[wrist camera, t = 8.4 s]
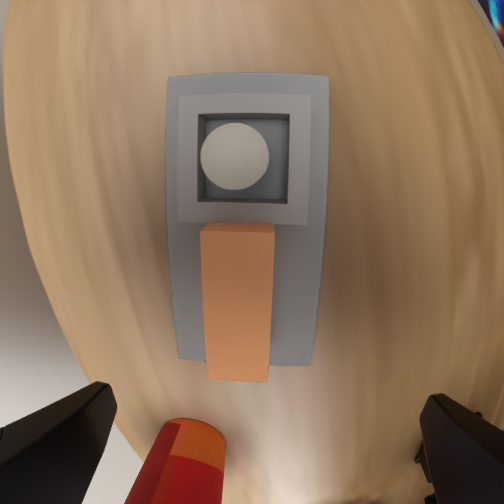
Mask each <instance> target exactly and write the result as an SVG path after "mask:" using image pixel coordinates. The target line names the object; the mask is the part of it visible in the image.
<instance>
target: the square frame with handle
mask: <svg viewBox="0 0 504 504" xmlns="http://www.w3.org/2000/svg"><path fill="white" fill-rule="evenodd" d="M211 119H278V120H288V133H287V176H286V200H282V199H249V198H206V174H205V173H204V170H203V168H202V165H201V157H200V156H201V149H202V146H203V143H204V141H205V139H206V120H211ZM310 140H311V95H295V94H269V93H232V94H205V95H190V96H179V112H178V222H209V223H208V224H207V225H206V226H205V227H204V228H203V229H202V230H201V231H200V244H201V275H202V298H203V317H204V334H205V349H206V363H207V375H208V378H209V379H220V380H233V381H249V382H268V366H269V349H270V331H271V312H272V291H273V268H274V244H275V225H274V224H284V225H307V221H308V201H309V177H310Z"/></svg>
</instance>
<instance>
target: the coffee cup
mask: <svg viewBox="0 0 504 504" xmlns="http://www.w3.org/2000/svg"><path fill="white" fill-rule="evenodd" d="M225 450H226V444H225V439H224V437H223V436H222V434H221V433H220V432H219V431H218V430H216V429H215V428H213V427H212V426H210V425H208V424H206V423H203V422H200V421H197V420H193V419H184V418H181V419H174V420H170V421H168V422H167V423H165V424H164V426H163V427H162V429H161V431H160V432H159V434H158V436H157V438H156V440H155V442H154V444H153V446H152V448H151V450H150V452H149V454H148V456H147V458H146V460H145V462H144V464H143V466H142V468H141V470H140V472H139V474H138V476H137V478H136V480H135V482H134V484H133V486H132V488H131V491H130V493H129V495H128V497H127V499H126V501H125V503H124V504H221V502H222V490H223V478H224V466H225Z"/></svg>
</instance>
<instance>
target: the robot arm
mask: <svg viewBox="0 0 504 504" xmlns="http://www.w3.org/2000/svg"><path fill="white" fill-rule="evenodd" d="M116 412H117V403H116V400H115V397H114V394H113V391H112V388H111V386H110V385H109V384H108V383H104V382H100V381H96V382H94V383H92V384H90V385H88V386H86V387H84V388H82V389H80V390H78V391H76V392H74V393H72V394H71V395H69V396H66V397H64V398H63V399H60V400H59V401H56V402H54V403H52V404H50V405H48V406H46V407H44V408H42V409H40V410H38V411H36V412H34V413H32V414H30V415H27V416H25V417H23V418H21V419H19V420H17V421H15V422H13V423H11V424H8V425H6V426H5V427H2V428H0V504H82V502H83V499H84V497H85V494H86V492H87V489H88V487H89V485H90V482H91V480H92V478H93V475H94V473H95V471H96V468H97V466H98V464H99V461H100V459H101V457H102V454H103V452H104V449H105V447H106V443H107V440H108V437H109V434H110V430H111V427H112V424H113V421H114V418H115V415H116ZM482 417H483V415H482V414H481V413H477V414H475V413H473V412H472V411H470V410H468V409H467V408H465V407H464V406H462V405H460V404H459V403H457V402H456V401H454V400H453V399H451V398H449V397H448V396H446V395H445V394H443V393H439V394H433V395H430V396H429V397H428V399H427V401H426V403H425V406H424V408H423V410H422V412H421V414H420V427H421V432H422V437H423V442H424V445H423V447H422V449H421V450H420V452H419V453H418V455H417V457H416V458H415V463H416V464H417V463H421V466H422V468H423V471H424V474H425V476H426V479H427V482H428V483H432V485H433V488H434V490H435V493H434V494H432V495H429V496H427V497H425V498H424V499H425V504H504V431H502V430H500V429H499V428H497V427H496V426H494V425H492V424H491V423H489V422H488V421H486V420H484V419H483V418H482Z"/></svg>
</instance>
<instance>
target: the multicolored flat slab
mask: <svg viewBox="0 0 504 504" xmlns="http://www.w3.org/2000/svg"><path fill="white" fill-rule="evenodd" d="M468 1H469V2H470V4H471V5H472V7H473V8H474V10H475V12H476V13H477V15H478V17H479V18H480V20H481V22H482V23H483V25H484V27H485V29H486V30H487V32H488V34H489V36H490V38H491V40H492V42H493V44H494V46H495V48H496V50H497V52H498V54H499V56H500V58H501V60H502V62H503V64H504V0H468Z"/></svg>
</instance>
